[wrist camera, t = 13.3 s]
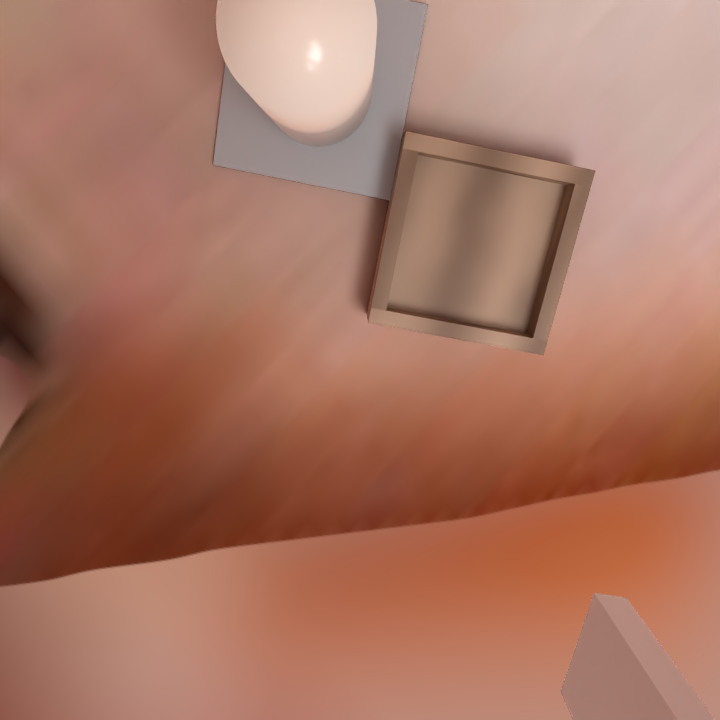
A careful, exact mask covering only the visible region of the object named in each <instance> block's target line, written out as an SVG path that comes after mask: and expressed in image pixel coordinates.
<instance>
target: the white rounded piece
mask: <svg viewBox="0 0 720 720" xmlns="http://www.w3.org/2000/svg"><path fill="white" fill-rule="evenodd" d="M216 31H217V37H218V43H219V46H220V50H221V53H222V55H223V58H224V60H225V63H226V65H227V66H228V68H229V70H230V72H231V74H232V75H233V76H234V78H235V79H236V80H237V82H238V83H239V84H240V85H241V86H242V87H243V89H244V90H245V91H246V92H247V93H248V94H249V95H250V96H251V97H252V99H253V100H254V101H255V102H256V103H257V104H258V105H259V106H260V107H261V109H262V110H263V111H264V112H265V113H266V114H267V115H268V116H269V117H270V119H271V120H272V121H273V122H274V123H275V124H276V125H277V126H278V127H279V128H280V130H281V131H282V132H283V133H285V134H286V135H287V136H288V137H290V138H291V139H293V140H295V141H297V142H299V143H301V144H304V145H308V146H314V147H324V146H330V145H334V144H337V143H339V142H341V141H343V140H345V139H346V138H348V137H349V136H350V135H352V134H353V133H354V132H355V131H356V130H357V129H358V128H359V126H360V125H361V124H362V122H363V120H364V119H365V117H366V115H367V112H368V110H369V107H370V103H371V97H372V87H373V75H374V62H375V50H376V38H377V14H376V6H375V2H374V0H218V2H217V8H216Z"/></svg>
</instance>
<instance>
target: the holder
mask: <svg viewBox="0 0 720 720" xmlns="http://www.w3.org/2000/svg"><path fill="white" fill-rule="evenodd" d="M594 173H595V170H590V169H585V168H580V167H576V166H571V165H566V164H561V163H557V162H552V161H547V160H542V159H537V158H533V157H528V156H523V155H518V154H514V153H509V152H504V151H499V150H494V149H490V148H485V147H480V146H475V145H471V144H466V143H461V142H456V141H451V140H447V139H442V138H437V137H432V136H428V135H423V134H418V133H413V132H408V131H406V132H405V134H404V135H403V137H402V139H401V144H400V149H399V154H398V160H397V165H396V170H395V175H394V180H393V185H392V190H391V195H390V200H389V203H388V209H387V214H386V219H385V224H384V229H383V234H382V239H381V244H380V249H379V254H378V259H377V265H376V270H375V275H374V280H373V285H372V290H371V295H370V300H369V305H368V310H367V318H368V323H373V324H378V325H383V326H389V327H394V328H399V329H405V330H410V331H416V332H421V333H426V334H432V335H437V336H442V337H448V338H453V339H458V340H464V341H469V342H474V343H480V344H485V345H491V346H496V347H501V348H507V349H512V350H517V351H523V352H528V353H533V354H539V355H544V351H545V348H546V344H547V341H548V337H549V334H550V330H551V326H552V323H553V319H554V316H555V312H556V309H557V305H558V302H559V298H560V294H561V291H562V287H563V284H564V280H565V277H566V273H567V269H568V266H569V262H570V259H571V255H572V252H573V248H574V244H575V241H576V237H577V234H578V230H579V227H580V223H581V220H582V216H583V212H584V209H585V205H586V202H587V198H588V195H589V191H590V187H591V184H592V180H593V177H594Z"/></svg>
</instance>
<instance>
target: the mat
mask: <svg viewBox="0 0 720 720" xmlns="http://www.w3.org/2000/svg"><path fill="white" fill-rule="evenodd" d="M374 2H375V6H376V14H377V38H376V50H375V62H374V75H373V87H372V97H371V103H370V107H369V110H368V112H367V115H366V117H365V119H364V120H363V122H362V124H361V125H360V126H359V128H358V129H357V130H356V131H355V132H354V133H353V134H352V135H350V136H349V137H348V138H346V139H345V140H343V141H341V142H339V143H337V144H334V145H330V146H324V147H314V146H308V145H304V144H301V143H299V142H297V141H295V140H293V139H291V138H290V137H288V136H287V135H286V134H285V133H283V132H282V131H281V130H280V128H279V127H278V126H277V125H276V124H275V123H274V122H273V121H272V120H271V119H270V117H269V116H268V115H267V114H266V113H265V112H264V111H263V110H262V109H261V107H260V106H259V105H258V104H257V103H256V102H255V101H254V100H253V99H252V97H251V96H250V95H249V94H248V93H247V92H246V91H245V90H244V89H243V87H242V86H241V85H240V84H239V83H238V82H237V80H236V79H235V78H234V76H233V75H232V74H231V72H230V70H229V68H228V66H227V65H226V63H225V69H224V77H223V86H222V94H221V102H220V111H219V119H218V127H217V136H216V144H215V152H214V161H213V165H215V166H220V167H225V168H230V169H235V170H240V171H245V172H250V173H255V174H260V175H265V176H270V177H275V178H279V179H284V180H289V181H294V182H299V183H304V184H309V185H314V186H319V187H324V188H329V189H334V190H339V191H344V192H349V193H354V194H359V195H364V196H369V197H374V198H379V199H384V200H390V195H391V190H392V185H393V180H394V175H395V170H396V165H397V160H398V154H399V149H400V144H401V139H402V134H403V129H404V124H405V119H406V114H407V109H408V104H409V99H410V94H411V88H412V83H413V78H414V73H415V68H416V63H417V58H418V53H419V48H420V43H421V38H422V33H423V27H424V22H425V17H426V12H427V7H428V5H427V4H423V3H418V2H414V1H409V0H374Z"/></svg>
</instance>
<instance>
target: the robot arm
mask: <svg viewBox="0 0 720 720" xmlns="http://www.w3.org/2000/svg"><path fill="white" fill-rule="evenodd" d="M561 694H562V696H563V698H564V701H565V703H566V705H567V707H568V709H569V712H570V714H571V716H572V718H573V720H715V718H714V717H713V715H712V714H711V713H710V711H709V710H708V708H707V707H706V706H705V704H704V703H703V702H702V700H701V699H700V698H699V696H698V695H697V693H696V692H695V691H694V689H693V688H692V687H691V685H690V684H689V682H688V681H687V680H686V679H685V677H684V676H683V674H682V673H681V672H680V670H679V669H678V667H677V666H676V665H675V663H674V662H673V661H672V659H671V658H670V657H669V655H668V654H667V653H666V651H665V650H664V648H663V647H662V646H661V644H660V643H659V641H658V640H657V639H656V637H655V636H654V635H653V633H652V632H651V631H650V629H649V628H648V627H647V625H646V624H645V622H644V621H643V620H642V618H641V617H640V616H639V614H638V613H637V612H636V610H635V609H634V607H633V606H632V605H631V603H630V602H629V600H628V599H627V598H623V597H618V596H612V595H605V594H599V593H594V595H593V598H592V601H591V604H590V607H589V610H588V613H587V616H586V619H585V621H584V624H583V627H582V630H581V633H580V636H579V639H578V642H577V645H576V648H575V651H574V654H573V657H572V660H571V663H570V666H569V669H568V671H567V674H566V677H565V681H564V683H563V686H562V689H561Z"/></svg>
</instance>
